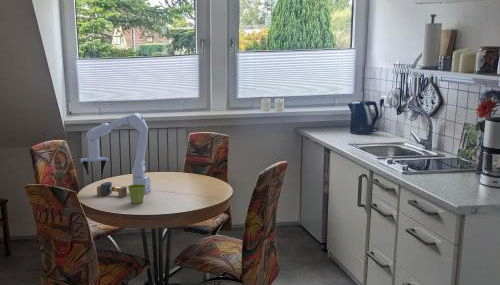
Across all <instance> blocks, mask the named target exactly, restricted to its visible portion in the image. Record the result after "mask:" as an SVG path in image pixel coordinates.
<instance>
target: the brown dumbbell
mask: <svg viewBox="0 0 500 285" xmlns="http://www.w3.org/2000/svg"><path fill="white" fill-rule="evenodd" d="M107 191H112V192H115V193H117V194H118V195H117V196H118V198H123V197H126V196H128V186H121V187H119V186H112V187H108V186H107ZM96 195H97V196H102V195H101V184H100V185H98V186H96Z"/></svg>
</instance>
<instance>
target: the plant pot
mask: <svg viewBox="0 0 500 285" xmlns="http://www.w3.org/2000/svg"><path fill="white" fill-rule="evenodd" d="M145 187H146V185H142V184H134V185H133V184H130V185H127V190H128V192H129V197H130V202H131V204H136V205H137V204H143V202H144V198H145V193H144V190H145Z"/></svg>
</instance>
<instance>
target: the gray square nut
mask: <svg viewBox="0 0 500 285" xmlns="http://www.w3.org/2000/svg"><path fill="white" fill-rule="evenodd" d="M112 183H113V182H111V181H106V182H103V183H100V185H101V195H100V196H108V195H109V194H113V193H112V192H113V191H107V186H108V187H113V185H112Z"/></svg>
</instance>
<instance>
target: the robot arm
mask: <svg viewBox="0 0 500 285" xmlns="http://www.w3.org/2000/svg"><path fill="white" fill-rule="evenodd" d="M122 125H130V126H131V127H133V128H135V129H136V130H137V132H138V136H137V137H138V138H137V144H136V145H137V146H136V151H135V160H134V162H133V163H134V164H133V167H132V169H131V174H132V185H134V184H142V185H146V187H145V190H144V194H147V193H148V192H151V191H152V189H151V186H152V185H151V177H149V176H147V175H146V173H145V172H146V170H147V169H146V160H145V157H146V150H147V143H148V142H147V141H148V136H149V135H148V134H149V127H148V125H147V122H146V121H145V117H144V116H143V115H142V114H141V113H140V112H134V113H133V114H128V115H125V116H123V117H119V118H118V119H115V121H112V122H110V123H108V122H105V123H104V122H102V123H101V124H100V125H98V126H94V127H93V128H91V129H90V130H88V131H86V138H87V146H88V147H87V148H88V149H87V150H88V157H84V158H83V157H82V158H80V163H82V165H83V167H84V168H85V172H86V176H89V175H90V171H89V163H93V162H94V163H95V162H100V166H101V170H100V172H101V175H103V174H104V169H105V166H106V163H107V162H108V161H109V158H108V157H106V156H105V157H104V156H103V157H102V156H100V142H99V141H100V140H99V138H100V137H102V136H105V135H107V134H109V133H111V132H112V129H114V128H117V127H119V126H122Z"/></svg>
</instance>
